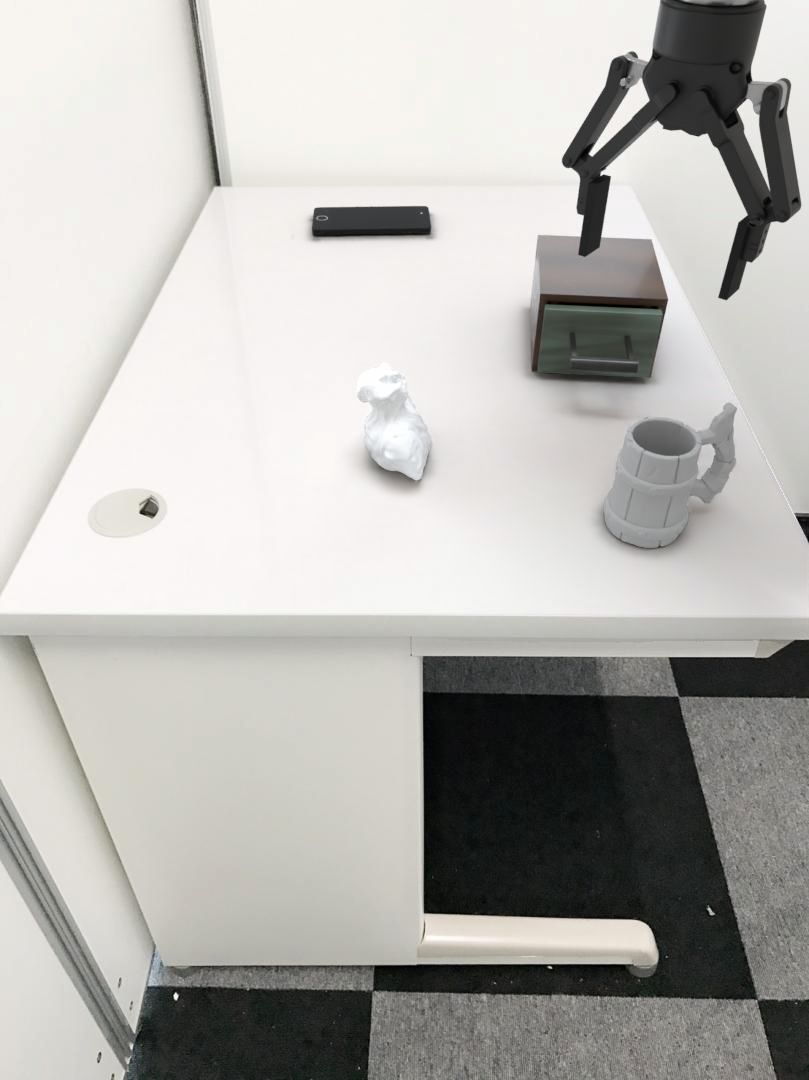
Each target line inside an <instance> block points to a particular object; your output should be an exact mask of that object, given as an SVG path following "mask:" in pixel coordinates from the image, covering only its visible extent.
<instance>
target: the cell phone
mask: <svg viewBox="0 0 809 1080" xmlns="http://www.w3.org/2000/svg"><path fill="white" fill-rule="evenodd" d="M431 232H432V223H431V216H430V208H429V206H426V205H394V206H391V205H390V206H383V205H382V206H322V207H321V206H319V207H315V208H313V215H312V224H311V234H312V235H313V236H320V235H321V236H327V235H328V236H329V235H331V236H332V235H333V236H335V235H337V236H338V235H341V236H342V235H398V234H399V235H402V234H405V235H407V234H431Z"/></svg>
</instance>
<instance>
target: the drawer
mask: <svg viewBox="0 0 809 1080" xmlns="http://www.w3.org/2000/svg"><path fill="white" fill-rule="evenodd" d="M651 308H652V306H640V305H617V304H595V303H572V302H550V301H547V304H545V308H544V316H543V324H542V333H541V341H540V350H539V358H538V366H537V368H538V373H547V374H549V373H550V374H567V375H586V376H604V377H605V376H607V377H626V378H628V377H629V378H650V377H649V374H650V370H651V365H652V361H653V356H654V352H655V347H656V343H657V338H658V334H659V329H660V325H661V320H662V316H663V314H662V310H660V309H651Z"/></svg>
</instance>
